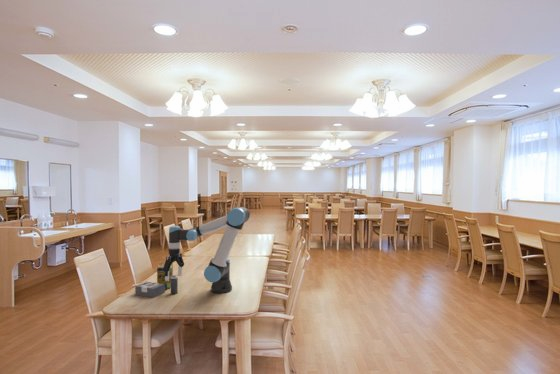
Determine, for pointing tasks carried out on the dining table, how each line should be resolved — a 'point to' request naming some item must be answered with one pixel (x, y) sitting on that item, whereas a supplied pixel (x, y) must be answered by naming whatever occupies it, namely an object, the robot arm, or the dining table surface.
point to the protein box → (162, 275)
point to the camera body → (150, 289)
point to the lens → (174, 284)
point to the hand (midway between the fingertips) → (173, 278)
